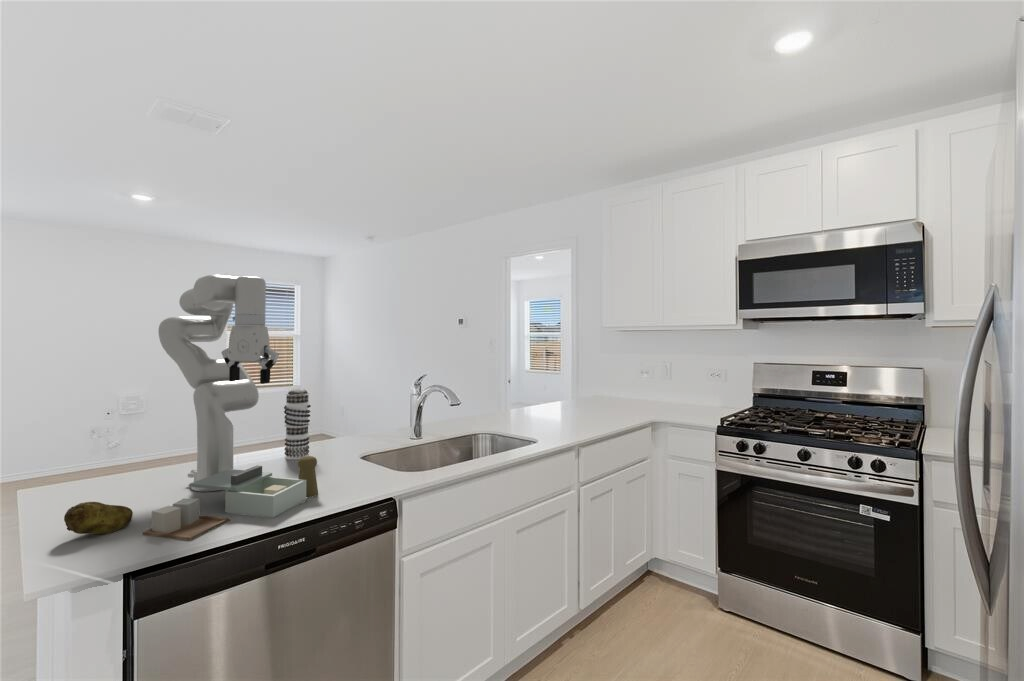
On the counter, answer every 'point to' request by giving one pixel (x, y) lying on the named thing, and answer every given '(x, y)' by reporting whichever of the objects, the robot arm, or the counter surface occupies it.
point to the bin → (266, 498)
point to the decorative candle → (297, 424)
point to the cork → (308, 474)
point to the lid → (232, 479)
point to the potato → (97, 518)
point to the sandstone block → (274, 489)
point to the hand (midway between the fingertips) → (249, 382)
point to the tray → (191, 528)
